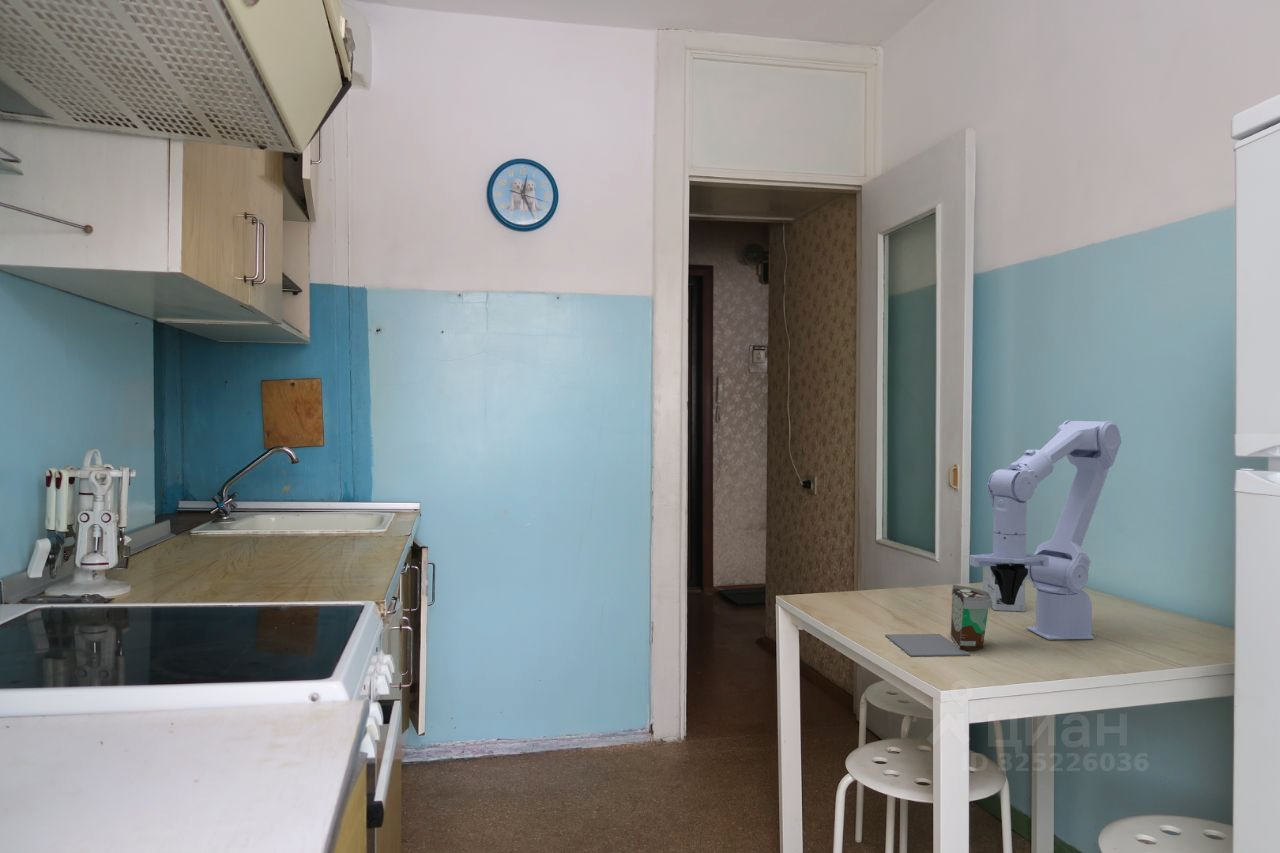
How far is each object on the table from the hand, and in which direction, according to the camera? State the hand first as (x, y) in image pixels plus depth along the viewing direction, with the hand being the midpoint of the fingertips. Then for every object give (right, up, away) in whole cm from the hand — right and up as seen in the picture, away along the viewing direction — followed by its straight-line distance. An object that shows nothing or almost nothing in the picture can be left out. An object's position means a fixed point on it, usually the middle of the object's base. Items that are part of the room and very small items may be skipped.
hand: (1008, 603), depth 154 cm
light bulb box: (+12, -7, +30) cm, 33 cm away
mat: (-16, -8, -1) cm, 18 cm away
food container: (-7, -8, 0) cm, 11 cm away
